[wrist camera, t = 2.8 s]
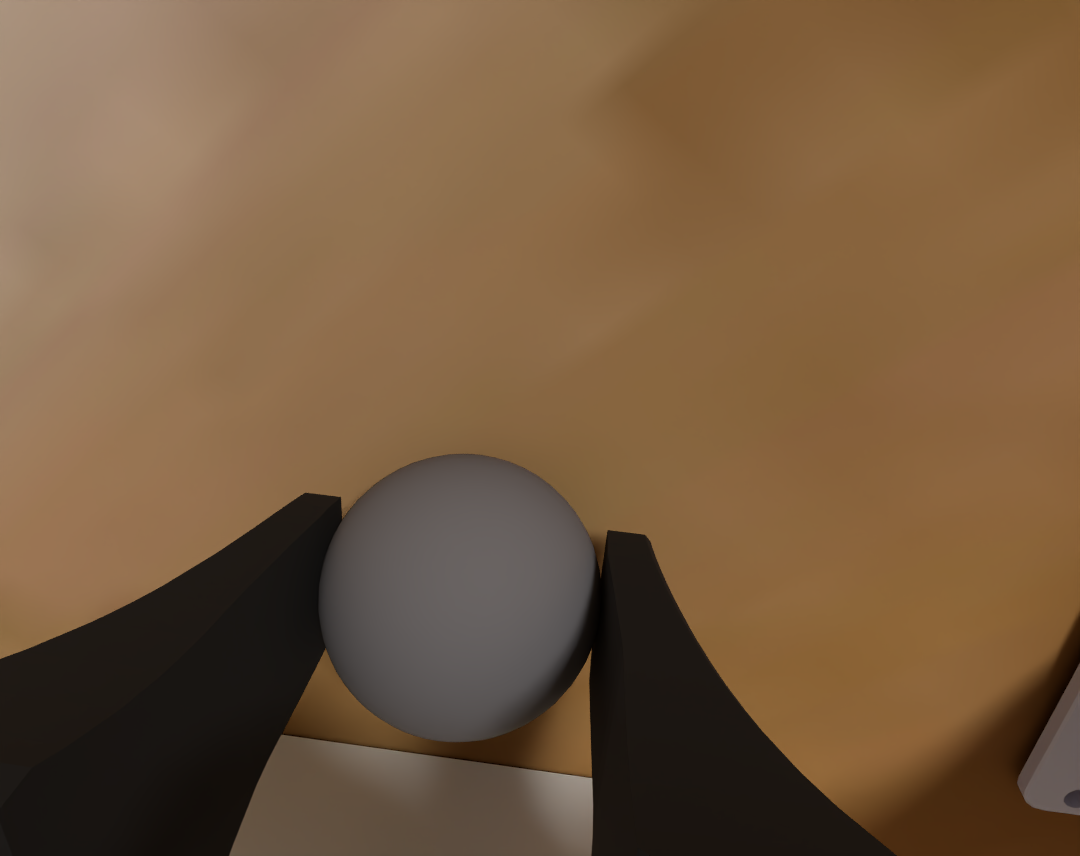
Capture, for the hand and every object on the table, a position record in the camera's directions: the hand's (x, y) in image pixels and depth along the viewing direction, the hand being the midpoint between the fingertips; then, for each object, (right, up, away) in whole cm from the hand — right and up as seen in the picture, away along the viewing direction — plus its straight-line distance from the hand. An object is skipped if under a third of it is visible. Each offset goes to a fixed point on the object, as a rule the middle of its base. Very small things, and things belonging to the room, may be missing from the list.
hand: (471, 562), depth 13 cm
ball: (0, +1, +1) cm, 1 cm away
